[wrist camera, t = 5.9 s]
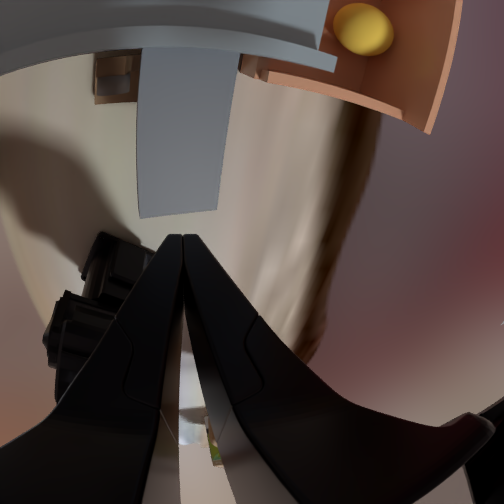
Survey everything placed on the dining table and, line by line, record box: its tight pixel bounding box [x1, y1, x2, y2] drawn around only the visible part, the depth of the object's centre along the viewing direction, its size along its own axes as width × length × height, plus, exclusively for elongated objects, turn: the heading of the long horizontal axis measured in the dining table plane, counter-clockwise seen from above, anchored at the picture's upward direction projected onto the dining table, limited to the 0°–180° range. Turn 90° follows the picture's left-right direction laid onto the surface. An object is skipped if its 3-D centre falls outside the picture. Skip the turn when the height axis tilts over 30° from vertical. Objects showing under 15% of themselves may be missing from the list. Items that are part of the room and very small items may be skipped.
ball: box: [333, 3, 394, 56], centre depth 12 cm, size 4×4×4 cm
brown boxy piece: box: [240, 0, 463, 135], centre depth 10 cm, size 10×11×8 cm
